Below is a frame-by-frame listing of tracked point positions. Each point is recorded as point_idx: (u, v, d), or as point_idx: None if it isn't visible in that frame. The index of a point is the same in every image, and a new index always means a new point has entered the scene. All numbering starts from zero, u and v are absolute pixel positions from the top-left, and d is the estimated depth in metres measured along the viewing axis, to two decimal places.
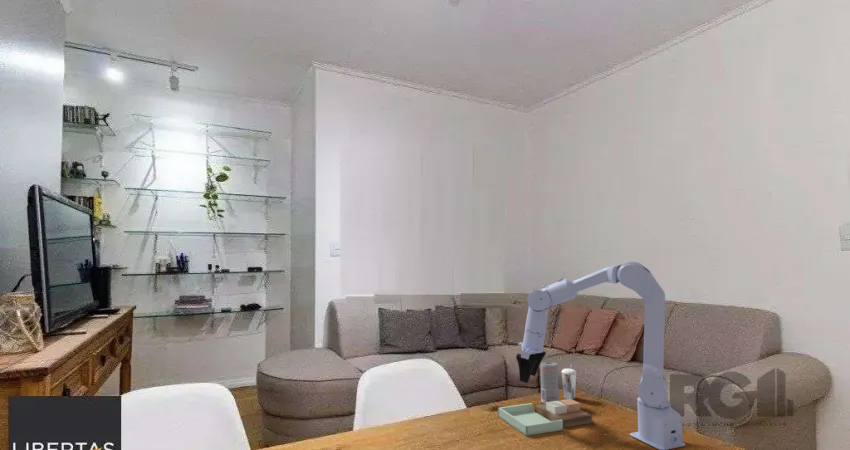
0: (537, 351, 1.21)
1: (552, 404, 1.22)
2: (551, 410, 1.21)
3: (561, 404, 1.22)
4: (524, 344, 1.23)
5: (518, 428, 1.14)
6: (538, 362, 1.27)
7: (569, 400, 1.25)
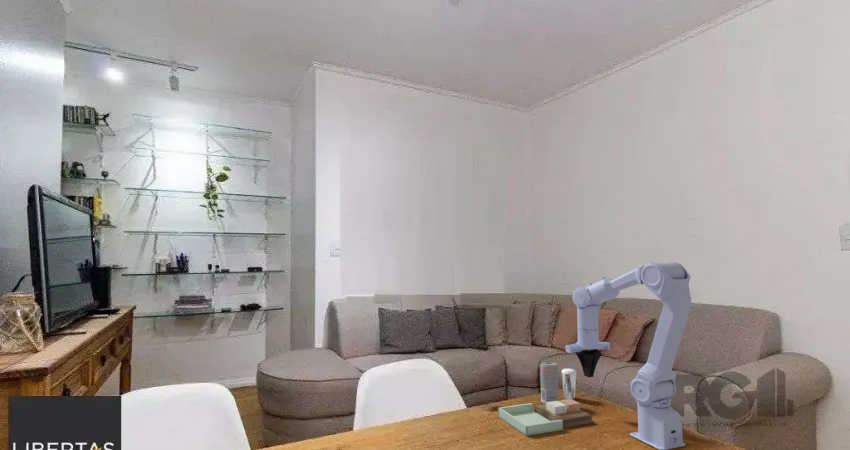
0: (585, 347, 1.24)
1: (552, 404, 1.22)
2: (551, 410, 1.21)
3: (561, 404, 1.22)
4: None
5: (518, 428, 1.14)
6: (592, 362, 1.26)
7: (569, 400, 1.25)
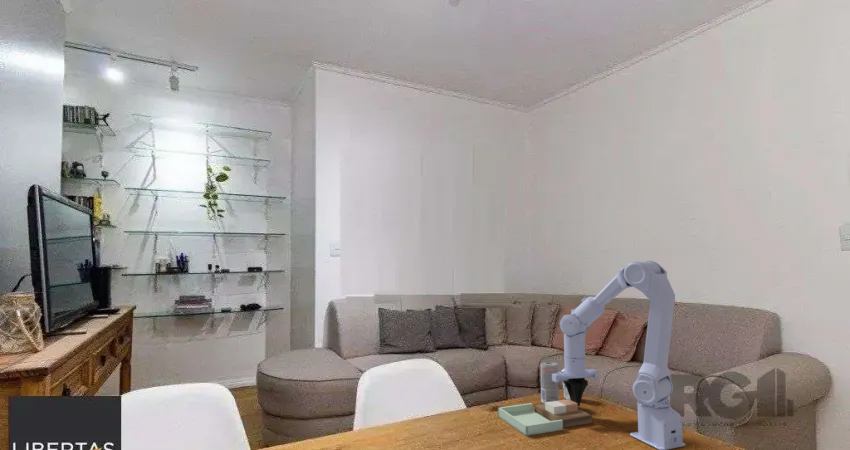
0: (571, 376, 1.22)
1: (551, 404, 1.22)
2: (550, 410, 1.21)
3: (560, 404, 1.22)
4: (564, 369, 1.26)
5: (518, 428, 1.14)
6: (579, 391, 1.24)
7: (567, 400, 1.25)
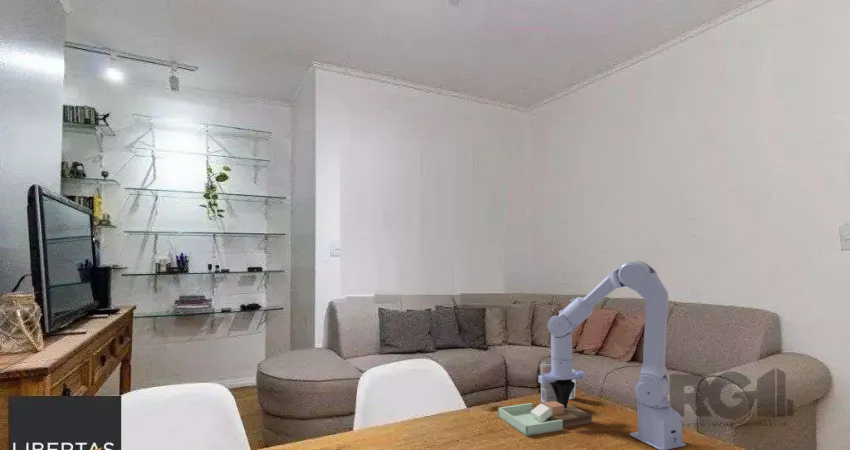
0: (558, 377, 1.20)
1: (536, 412, 1.20)
2: (537, 418, 1.19)
3: (544, 408, 1.20)
4: (551, 371, 1.25)
5: (518, 428, 1.14)
6: (566, 393, 1.22)
7: (553, 402, 1.23)
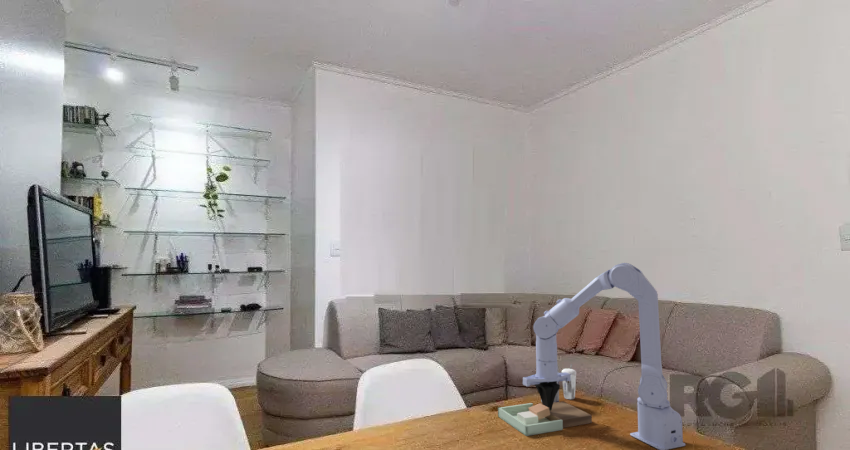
0: (543, 379, 1.19)
1: (523, 415, 1.18)
2: (521, 421, 1.17)
3: (532, 415, 1.18)
4: (536, 373, 1.23)
5: (518, 428, 1.14)
6: (550, 395, 1.20)
7: (538, 405, 1.21)
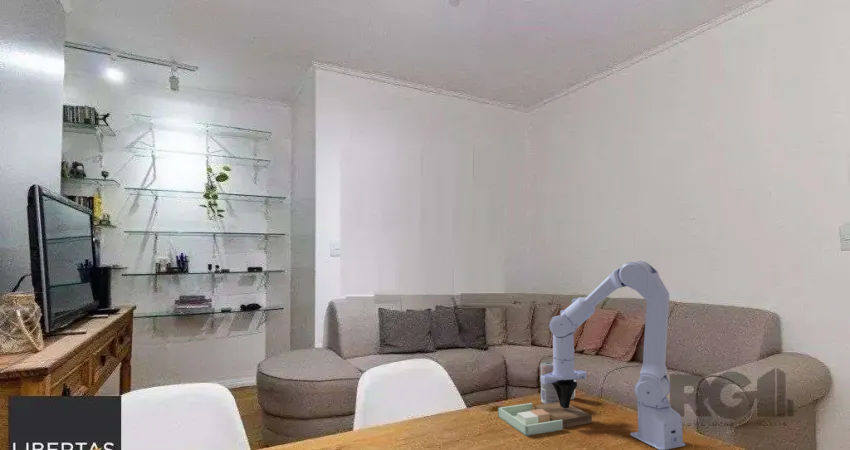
0: (560, 377, 1.21)
1: (523, 415, 1.18)
2: (521, 421, 1.17)
3: (532, 415, 1.18)
4: (553, 371, 1.25)
5: (518, 428, 1.14)
6: (568, 393, 1.22)
7: (540, 410, 1.21)
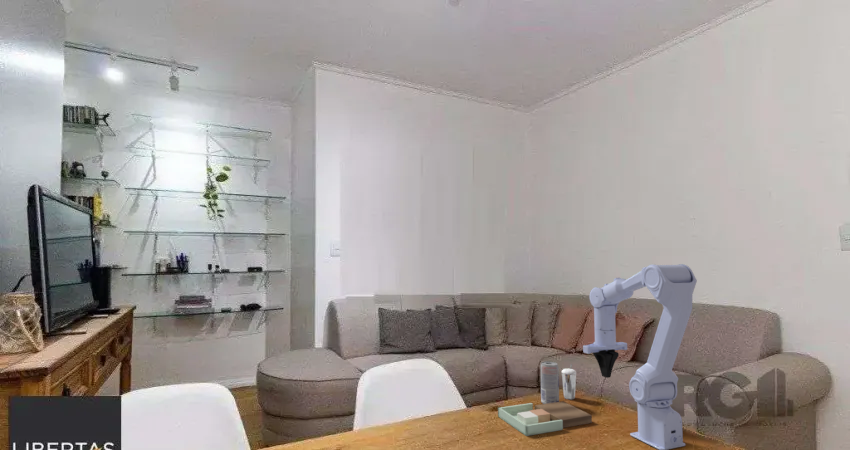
0: (603, 347, 1.24)
1: (523, 415, 1.18)
2: (521, 421, 1.17)
3: (532, 415, 1.18)
4: (594, 342, 1.28)
5: (518, 428, 1.14)
6: (610, 363, 1.25)
7: (540, 410, 1.21)
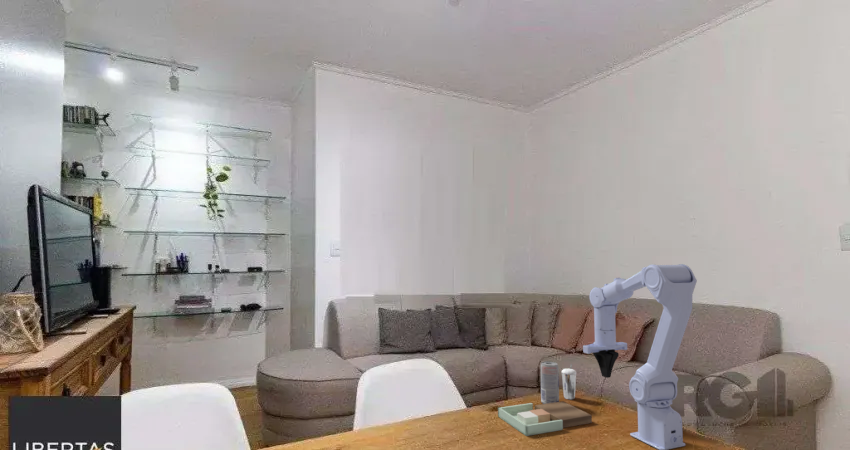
0: (603, 347, 1.24)
1: (523, 415, 1.18)
2: (521, 421, 1.17)
3: (532, 415, 1.18)
4: (594, 342, 1.28)
5: (518, 428, 1.14)
6: (610, 363, 1.25)
7: (540, 410, 1.21)
